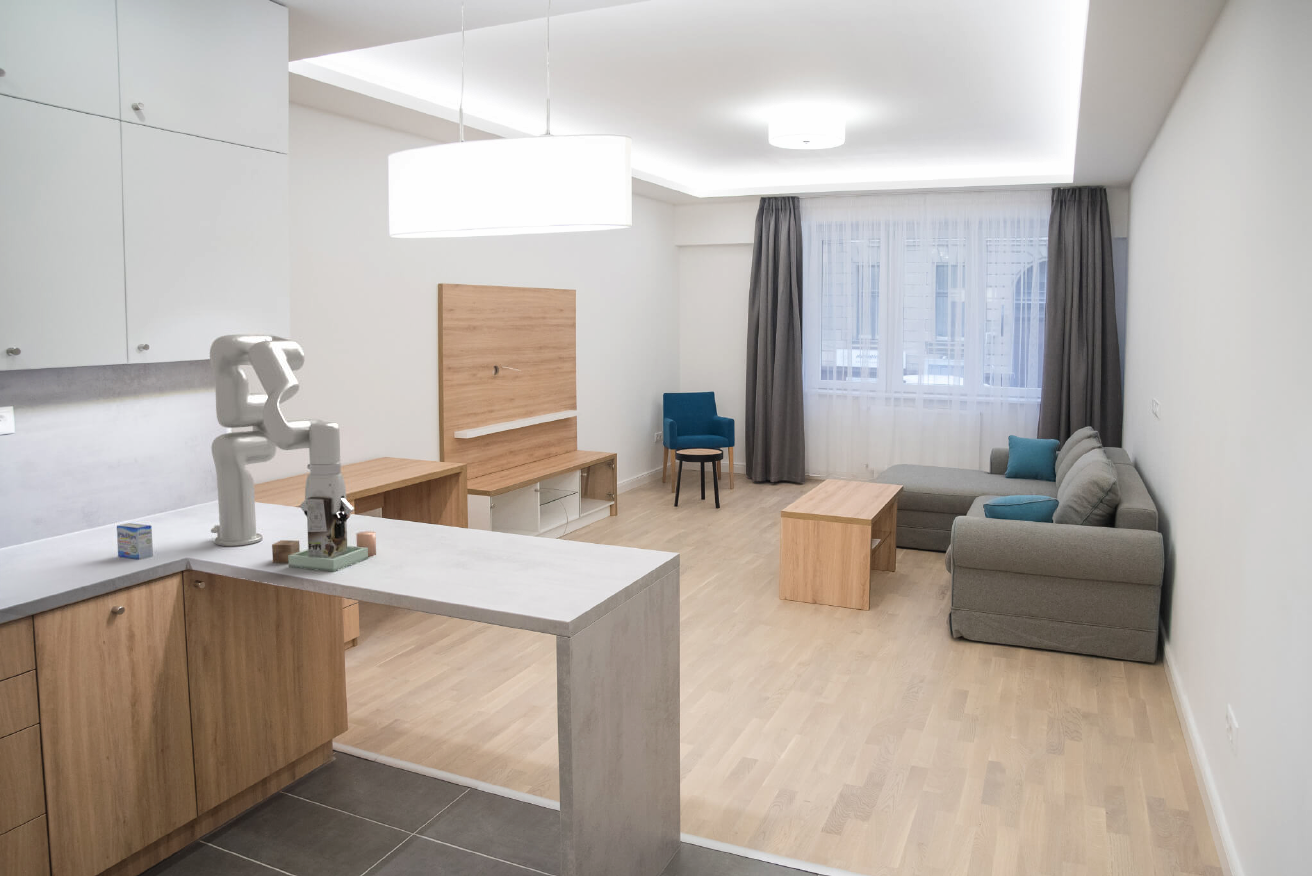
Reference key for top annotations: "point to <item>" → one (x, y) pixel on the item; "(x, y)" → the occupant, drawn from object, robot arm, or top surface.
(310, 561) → the tray
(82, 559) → the top surface
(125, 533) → the medicine box
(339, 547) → the coffee box
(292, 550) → the walnut block
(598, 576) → the top surface
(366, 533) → the light brown rounded block
